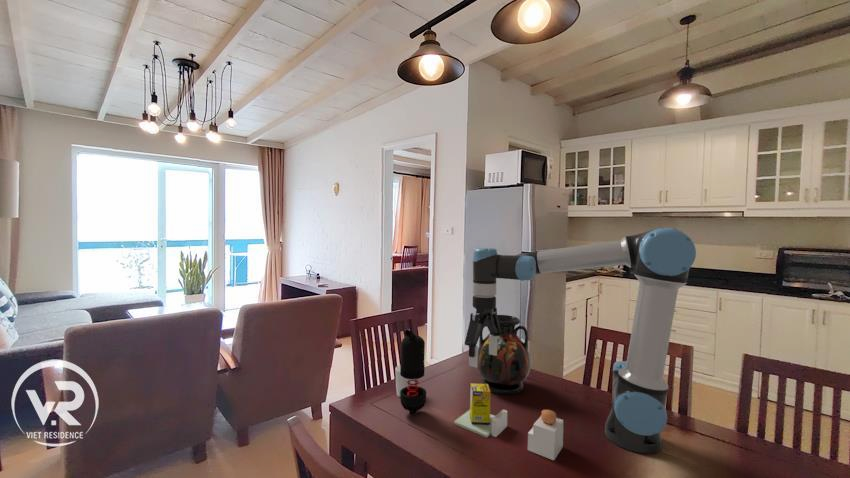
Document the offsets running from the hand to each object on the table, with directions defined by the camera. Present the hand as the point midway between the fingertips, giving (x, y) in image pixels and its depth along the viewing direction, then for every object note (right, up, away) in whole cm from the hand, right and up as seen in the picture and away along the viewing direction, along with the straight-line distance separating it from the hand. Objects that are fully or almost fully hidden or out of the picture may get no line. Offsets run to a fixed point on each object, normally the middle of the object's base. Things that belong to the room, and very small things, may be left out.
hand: (483, 360), depth 116 cm
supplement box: (-1, -20, +1) cm, 20 cm away
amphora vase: (+12, -20, +28) cm, 37 cm away
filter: (-23, -20, +7) cm, 31 cm away
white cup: (-27, -20, +20) cm, 39 cm away
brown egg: (+17, -17, -13) cm, 27 cm away
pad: (-1, -21, +1) cm, 21 cm away
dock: (+11, -21, -9) cm, 26 cm away
